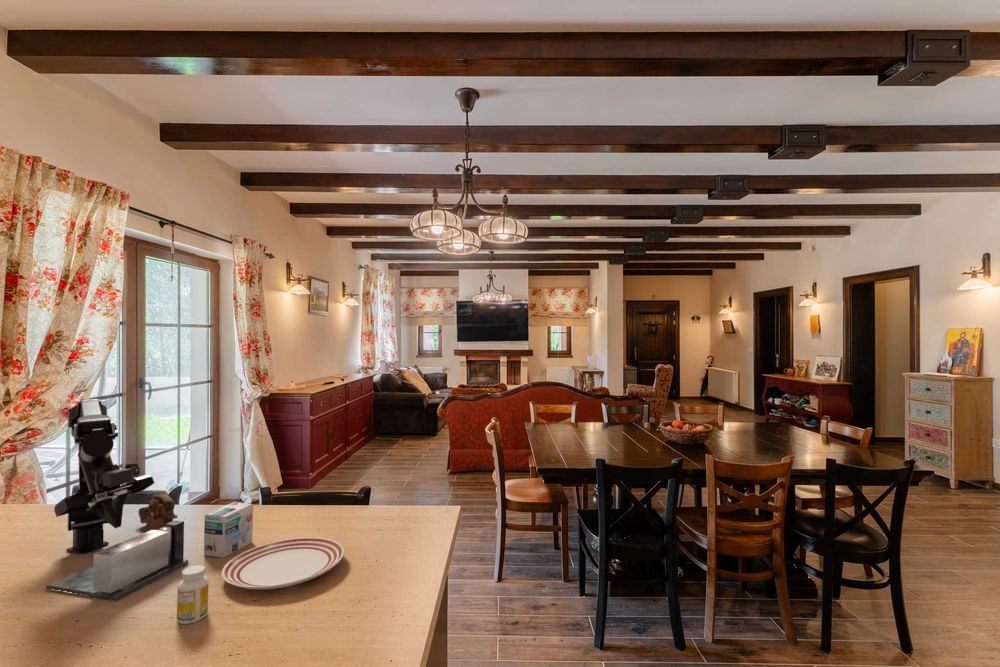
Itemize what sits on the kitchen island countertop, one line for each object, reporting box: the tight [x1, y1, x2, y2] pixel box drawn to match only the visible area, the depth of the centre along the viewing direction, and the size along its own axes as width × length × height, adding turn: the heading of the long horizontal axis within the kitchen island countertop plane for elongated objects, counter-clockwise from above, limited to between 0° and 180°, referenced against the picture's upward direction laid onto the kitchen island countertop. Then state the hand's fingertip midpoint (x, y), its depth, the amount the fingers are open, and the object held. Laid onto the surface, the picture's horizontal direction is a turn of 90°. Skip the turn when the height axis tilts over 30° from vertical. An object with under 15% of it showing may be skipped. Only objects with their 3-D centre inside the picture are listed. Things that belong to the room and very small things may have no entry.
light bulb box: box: [203, 501, 254, 559], centre depth 130 cm, size 11×7×11 cm, turn 168°
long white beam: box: [92, 527, 171, 593], centre depth 113 cm, size 5×16×8 cm, turn 167°
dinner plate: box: [220, 536, 345, 591], centre depth 118 cm, size 28×27×3 cm
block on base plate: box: [45, 519, 189, 602], centre depth 115 cm, size 20×19×10 cm
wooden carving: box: [138, 493, 179, 531], centre depth 143 cm, size 16×5×10 cm, turn 67°
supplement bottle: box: [176, 564, 209, 625], centre depth 98 cm, size 5×5×10 cm
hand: (118, 527), depth 116 cm, fingers closed
